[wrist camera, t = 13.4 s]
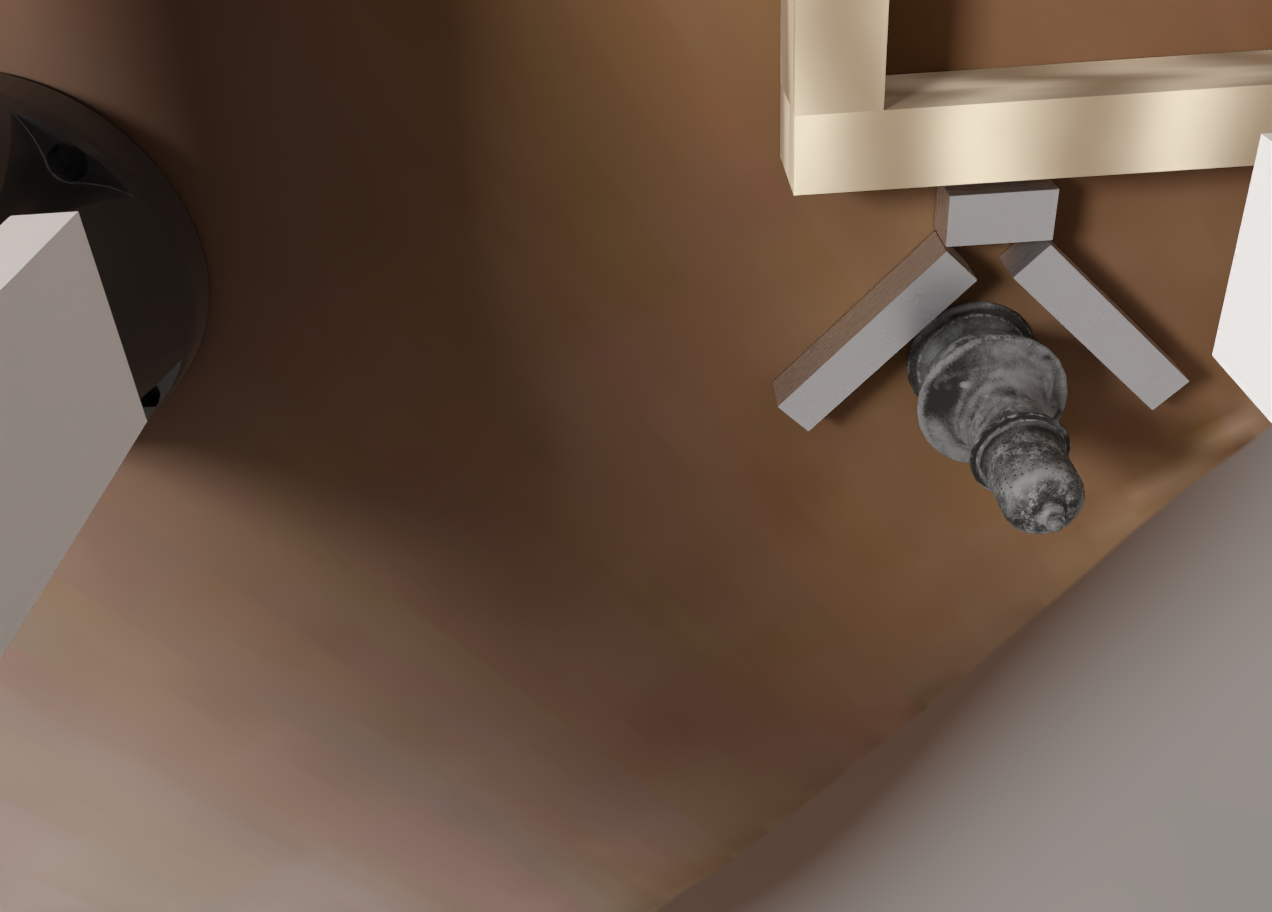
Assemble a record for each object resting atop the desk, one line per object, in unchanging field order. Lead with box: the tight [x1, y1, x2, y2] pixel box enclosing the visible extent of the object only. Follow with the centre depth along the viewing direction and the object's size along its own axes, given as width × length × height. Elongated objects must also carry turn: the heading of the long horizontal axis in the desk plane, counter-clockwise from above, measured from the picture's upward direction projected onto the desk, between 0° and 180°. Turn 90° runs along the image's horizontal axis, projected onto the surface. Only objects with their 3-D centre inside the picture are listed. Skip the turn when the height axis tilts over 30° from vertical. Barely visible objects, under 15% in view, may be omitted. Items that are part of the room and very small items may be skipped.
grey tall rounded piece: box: [906, 302, 1085, 534], centre depth 46 cm, size 6×6×12 cm
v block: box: [772, 179, 1189, 431], centre depth 48 cm, size 10×17×2 cm, turn 93°
